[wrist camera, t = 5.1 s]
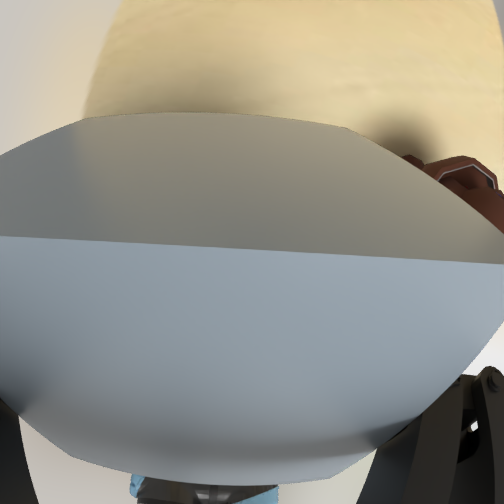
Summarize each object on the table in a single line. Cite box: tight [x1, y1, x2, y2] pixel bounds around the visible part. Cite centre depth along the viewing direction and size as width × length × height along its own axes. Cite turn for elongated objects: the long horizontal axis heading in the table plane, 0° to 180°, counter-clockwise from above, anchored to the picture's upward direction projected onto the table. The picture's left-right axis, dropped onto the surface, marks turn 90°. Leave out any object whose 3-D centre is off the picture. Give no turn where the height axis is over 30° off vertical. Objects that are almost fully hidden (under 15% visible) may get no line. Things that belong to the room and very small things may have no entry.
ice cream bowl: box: [400, 155, 504, 234], centre depth 19 cm, size 11×11×15 cm
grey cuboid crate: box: [0, 112, 504, 486], centre depth 8 cm, size 10×10×9 cm
